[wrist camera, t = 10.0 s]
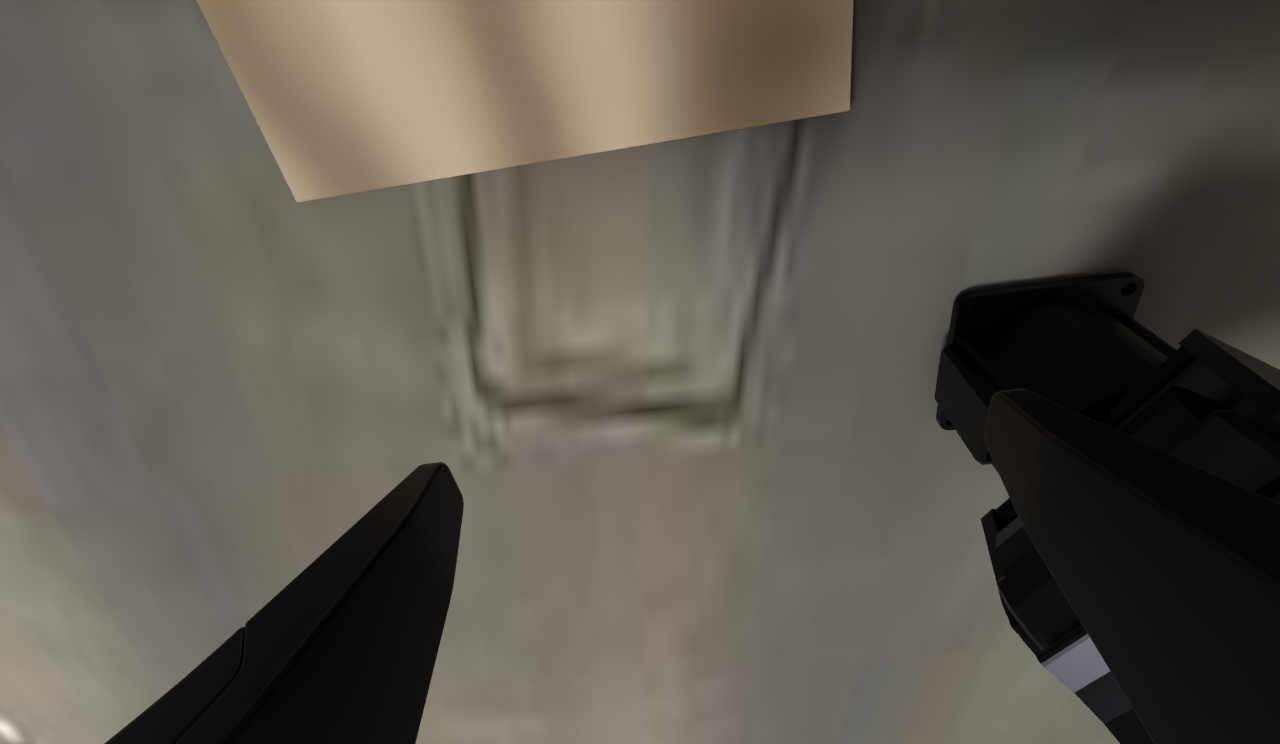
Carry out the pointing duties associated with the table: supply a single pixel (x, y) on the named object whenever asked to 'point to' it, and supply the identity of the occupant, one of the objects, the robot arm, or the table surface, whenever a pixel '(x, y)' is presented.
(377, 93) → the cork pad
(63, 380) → the table surface
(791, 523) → the table surface
